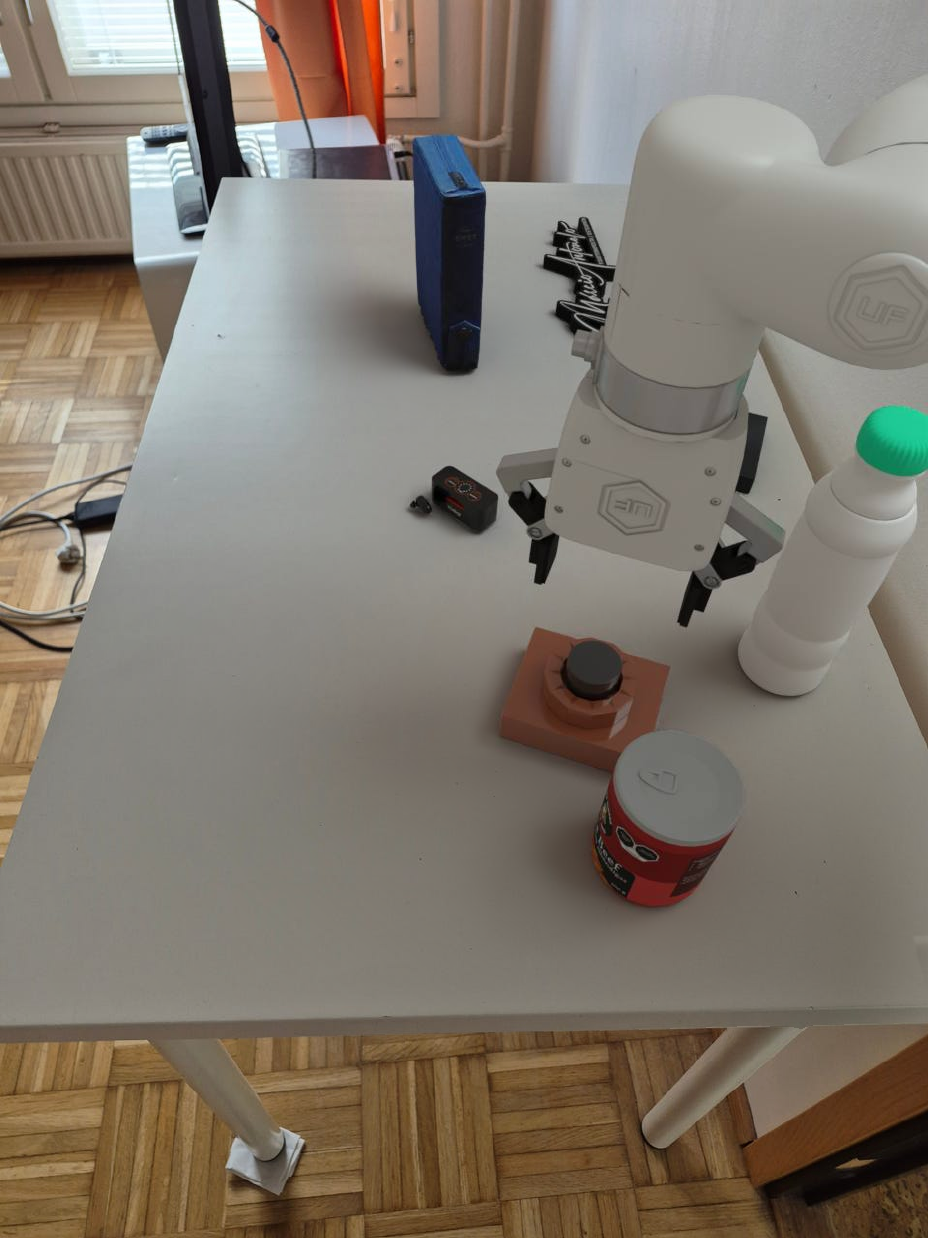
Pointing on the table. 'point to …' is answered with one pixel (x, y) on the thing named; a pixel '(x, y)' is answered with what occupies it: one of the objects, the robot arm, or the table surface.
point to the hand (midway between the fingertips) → (614, 589)
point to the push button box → (580, 704)
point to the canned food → (665, 817)
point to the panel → (751, 452)
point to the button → (593, 670)
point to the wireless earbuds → (461, 499)
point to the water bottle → (838, 554)
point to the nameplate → (581, 275)
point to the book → (449, 248)
